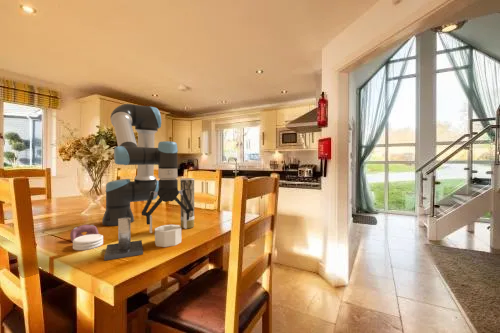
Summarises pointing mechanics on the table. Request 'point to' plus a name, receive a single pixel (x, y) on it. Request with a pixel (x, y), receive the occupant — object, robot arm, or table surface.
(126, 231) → the post stand
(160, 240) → the ring
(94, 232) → the purple curved piece
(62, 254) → the table surface
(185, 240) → the table surface
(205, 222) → the table surface
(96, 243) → the coaster
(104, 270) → the table surface
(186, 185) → the paper tube
